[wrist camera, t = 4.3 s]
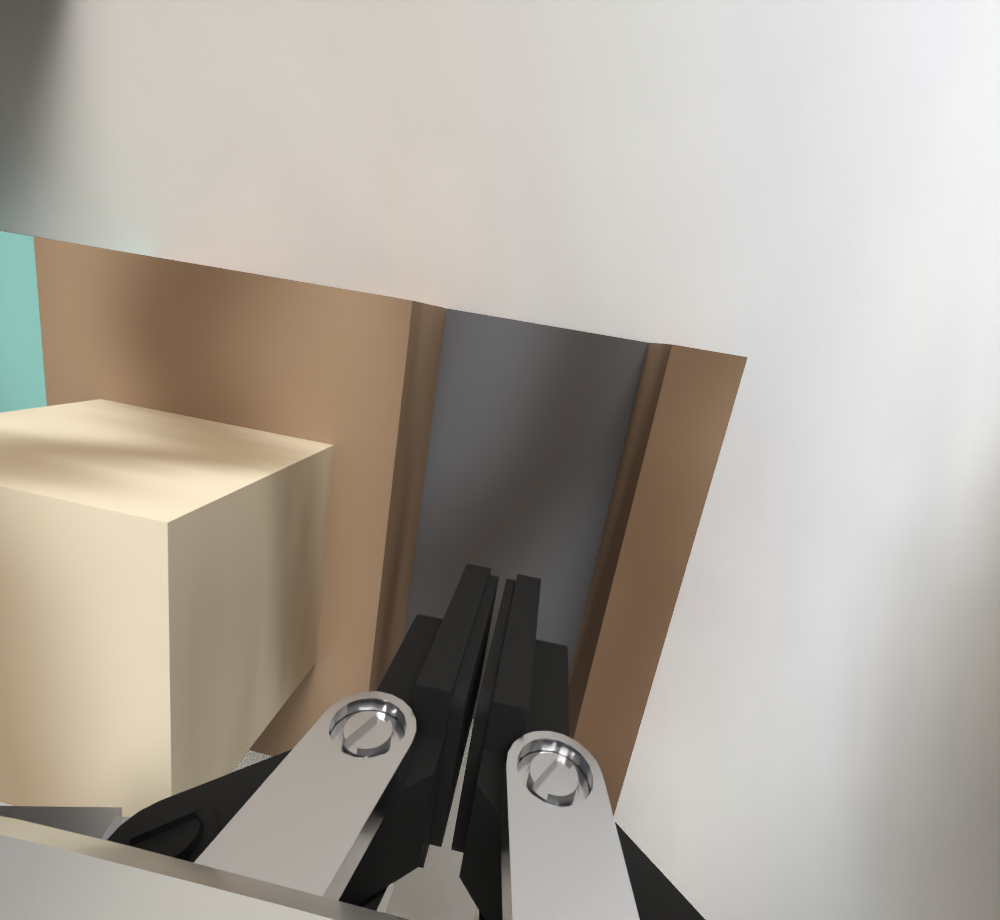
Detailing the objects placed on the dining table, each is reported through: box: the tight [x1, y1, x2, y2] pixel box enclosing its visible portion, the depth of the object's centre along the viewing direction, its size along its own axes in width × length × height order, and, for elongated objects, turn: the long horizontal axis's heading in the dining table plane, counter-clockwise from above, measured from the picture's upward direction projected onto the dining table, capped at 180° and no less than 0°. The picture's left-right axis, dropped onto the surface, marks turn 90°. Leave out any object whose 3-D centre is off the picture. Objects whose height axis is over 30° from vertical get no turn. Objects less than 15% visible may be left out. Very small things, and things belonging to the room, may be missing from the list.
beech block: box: [0, 399, 334, 817], centre depth 10 cm, size 6×6×5 cm
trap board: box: [0, 231, 747, 816], centre depth 15 cm, size 31×13×4 cm, turn 80°
